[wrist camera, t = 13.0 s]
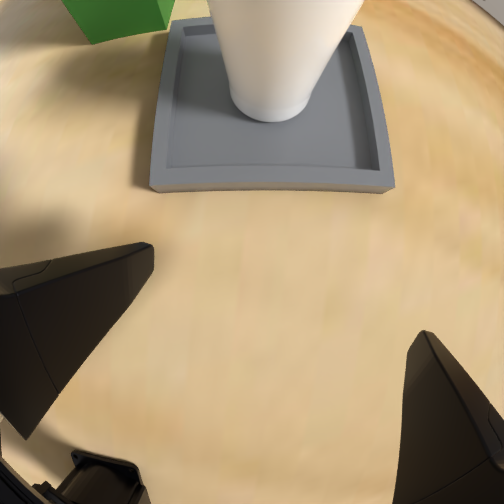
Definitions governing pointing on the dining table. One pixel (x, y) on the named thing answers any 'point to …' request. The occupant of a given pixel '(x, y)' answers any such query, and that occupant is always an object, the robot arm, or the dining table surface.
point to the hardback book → (119, 17)
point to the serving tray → (267, 125)
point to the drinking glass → (278, 50)
